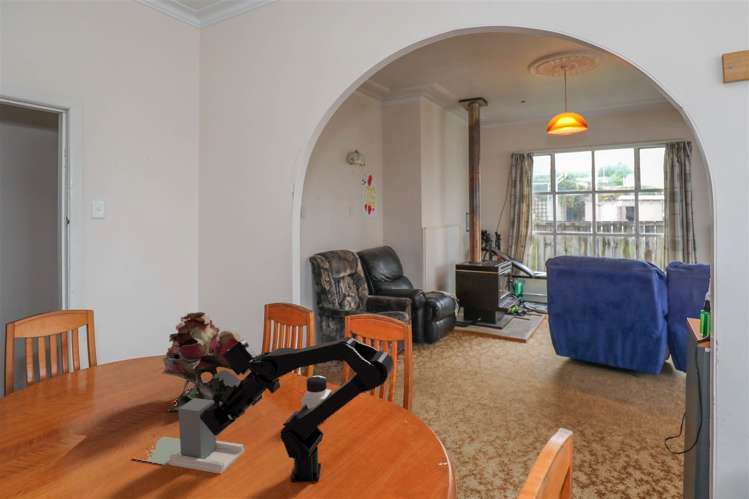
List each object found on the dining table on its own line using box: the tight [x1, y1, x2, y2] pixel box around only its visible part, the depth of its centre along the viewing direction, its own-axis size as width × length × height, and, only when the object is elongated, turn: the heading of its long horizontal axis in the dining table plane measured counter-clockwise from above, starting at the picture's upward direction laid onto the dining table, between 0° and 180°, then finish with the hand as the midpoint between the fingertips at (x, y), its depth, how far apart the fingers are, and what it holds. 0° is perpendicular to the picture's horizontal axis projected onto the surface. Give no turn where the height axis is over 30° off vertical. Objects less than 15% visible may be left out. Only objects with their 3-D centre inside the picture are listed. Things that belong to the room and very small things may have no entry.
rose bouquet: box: [161, 311, 244, 413], centre depth 142 cm, size 26×29×30 cm
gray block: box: [177, 398, 217, 459], centre depth 108 cm, size 6×6×13 cm
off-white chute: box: [168, 440, 245, 475], centre depth 108 cm, size 15×10×2 cm, turn 74°
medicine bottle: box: [301, 375, 332, 423], centre depth 129 cm, size 7×7×12 cm
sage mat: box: [135, 436, 181, 466], centre depth 112 cm, size 10×11×1 cm
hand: (213, 425), depth 107 cm, fingers closed
